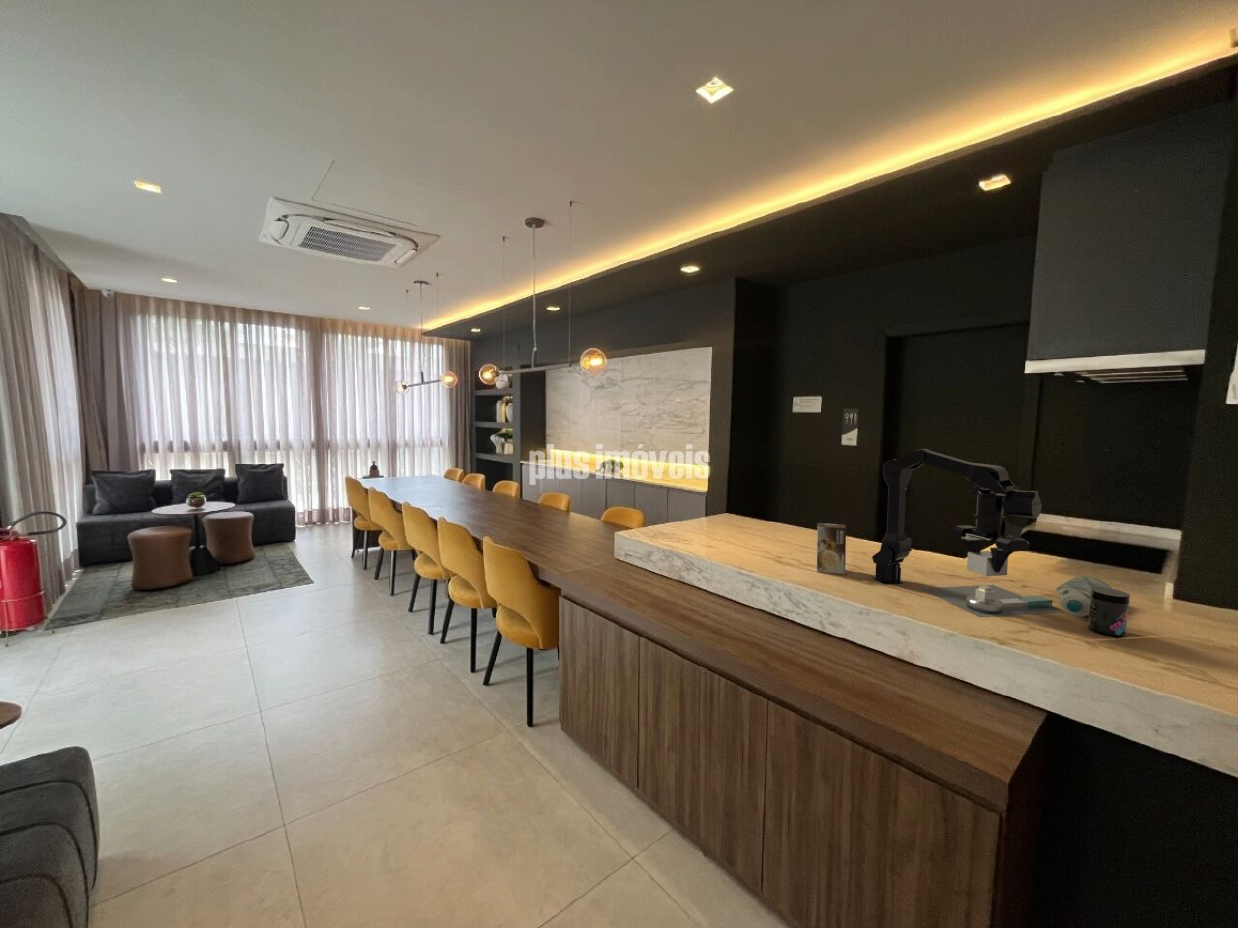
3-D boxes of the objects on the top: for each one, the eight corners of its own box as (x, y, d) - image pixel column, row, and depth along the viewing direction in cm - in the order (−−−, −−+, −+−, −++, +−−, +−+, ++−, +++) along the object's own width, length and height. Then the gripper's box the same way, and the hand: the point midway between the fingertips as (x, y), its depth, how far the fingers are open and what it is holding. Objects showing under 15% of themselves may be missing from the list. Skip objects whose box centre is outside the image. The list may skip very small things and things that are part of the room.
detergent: (1062, 592, 148) (1035, 609, 133) (1067, 569, 147) (1040, 584, 132) (1123, 609, 137) (1101, 630, 123) (1129, 585, 136) (1107, 603, 122)
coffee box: (844, 569, 171) (846, 524, 169) (845, 574, 165) (847, 528, 163) (816, 566, 174) (817, 522, 173) (815, 571, 168) (817, 526, 167)
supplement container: (1104, 638, 117) (1108, 596, 116) (1079, 626, 123) (1083, 586, 122) (1134, 639, 116) (1138, 597, 115) (1108, 627, 123) (1112, 587, 122)
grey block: (986, 576, 130) (987, 557, 130) (966, 569, 137) (967, 551, 136) (1007, 575, 131) (1008, 556, 131) (987, 568, 137) (987, 550, 137)
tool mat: (979, 618, 129) (979, 616, 129) (919, 589, 151) (919, 588, 151) (1064, 613, 132) (1064, 612, 132) (993, 585, 154) (993, 584, 154)
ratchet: (983, 615, 130) (984, 592, 130) (959, 603, 138) (960, 582, 138) (1060, 610, 133) (1062, 588, 132) (1032, 599, 141) (1033, 579, 140)
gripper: (1050, 517, 124) (1046, 577, 126) (986, 505, 143) (983, 558, 144) (1010, 519, 123) (1007, 580, 124) (951, 506, 141) (949, 559, 143)
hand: (986, 568), depth 134 cm, fingers closed on grey block, 6 cm apart
